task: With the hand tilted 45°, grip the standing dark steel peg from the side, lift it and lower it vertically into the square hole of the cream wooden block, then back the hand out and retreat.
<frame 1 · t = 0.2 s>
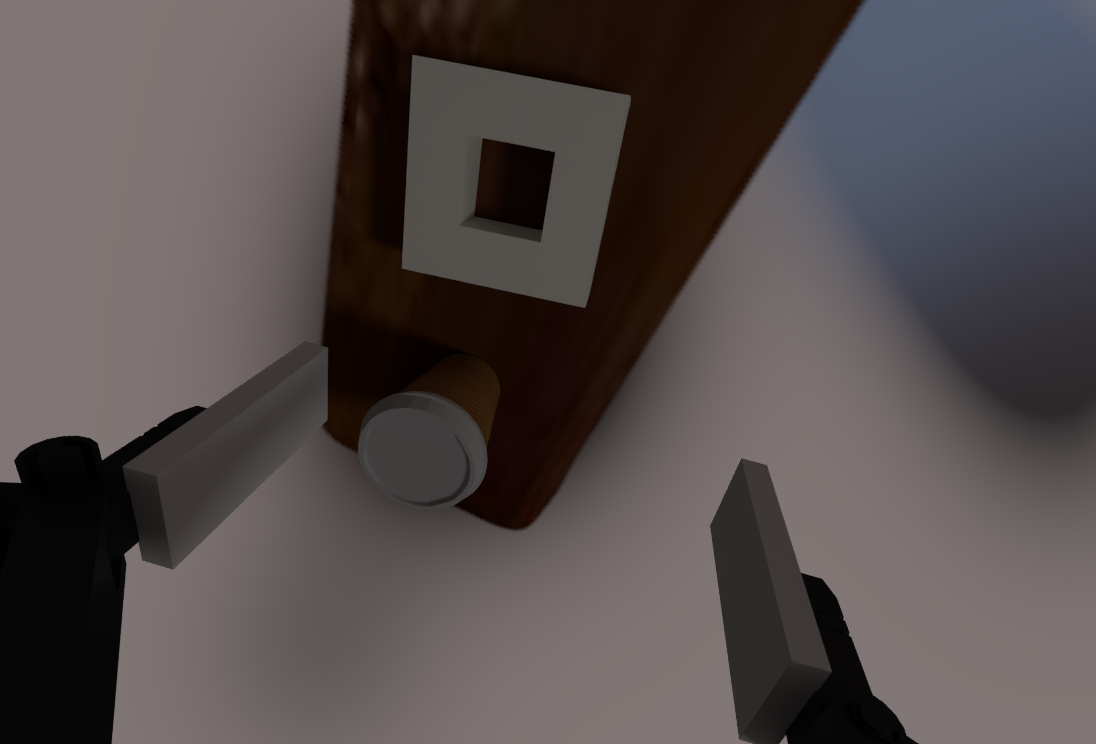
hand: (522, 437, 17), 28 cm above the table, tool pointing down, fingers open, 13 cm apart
hole block: (517, 184, 40), on the table
disposable coffee cup: (466, 384, 49), on the table
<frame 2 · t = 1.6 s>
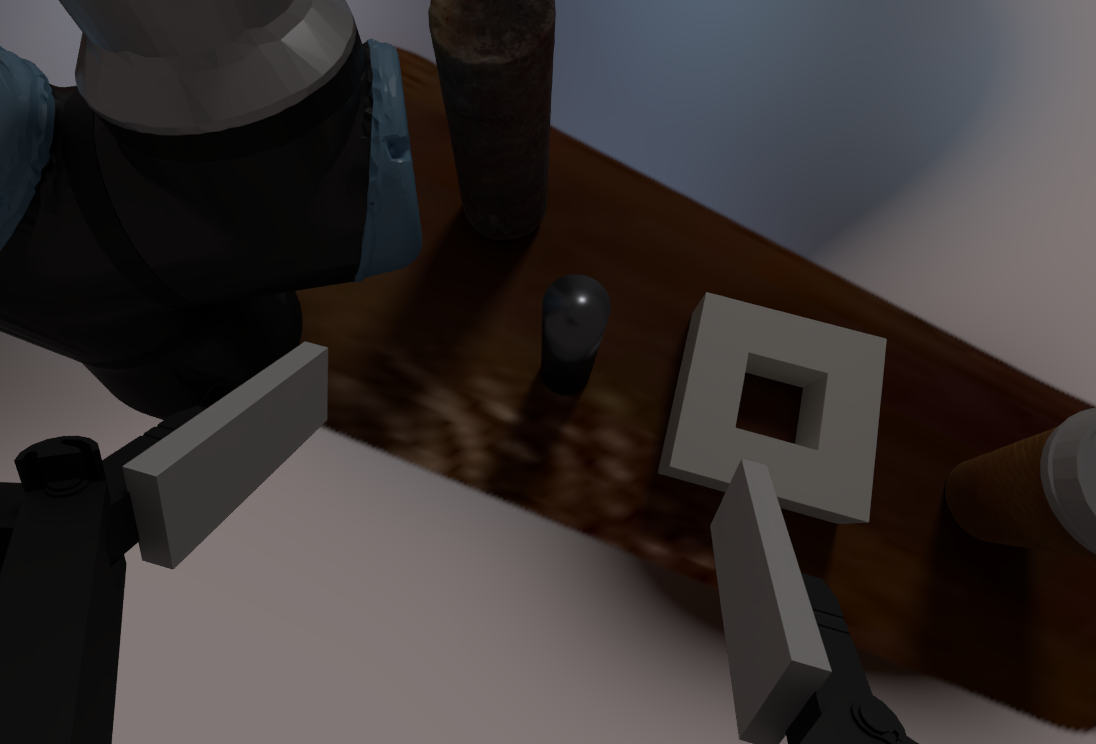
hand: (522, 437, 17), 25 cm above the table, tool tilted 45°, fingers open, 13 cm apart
hole block: (760, 412, 43), on the table
disposable coffee cup: (983, 500, 42), on the table
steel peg: (565, 371, 44), on the table
candle: (506, 213, 49), on the table
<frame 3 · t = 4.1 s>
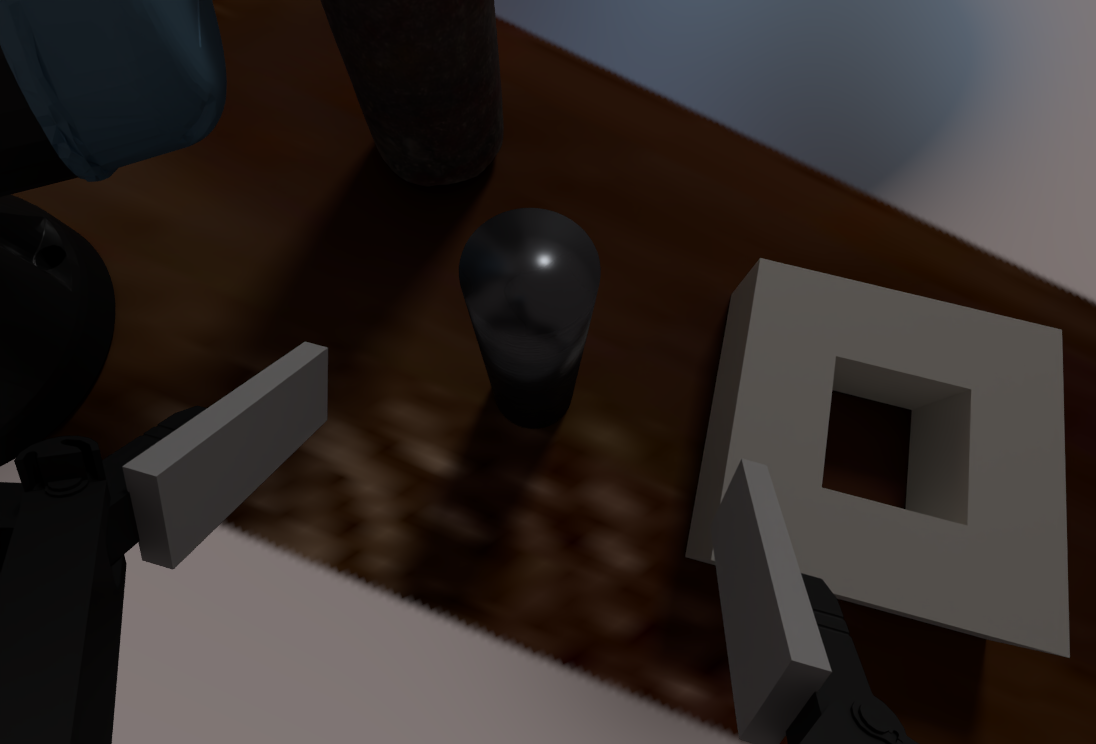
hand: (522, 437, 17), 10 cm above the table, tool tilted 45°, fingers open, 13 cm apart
hole block: (847, 451, 27), on the table
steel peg: (533, 390, 28), on the table
candle: (444, 149, 32), on the table
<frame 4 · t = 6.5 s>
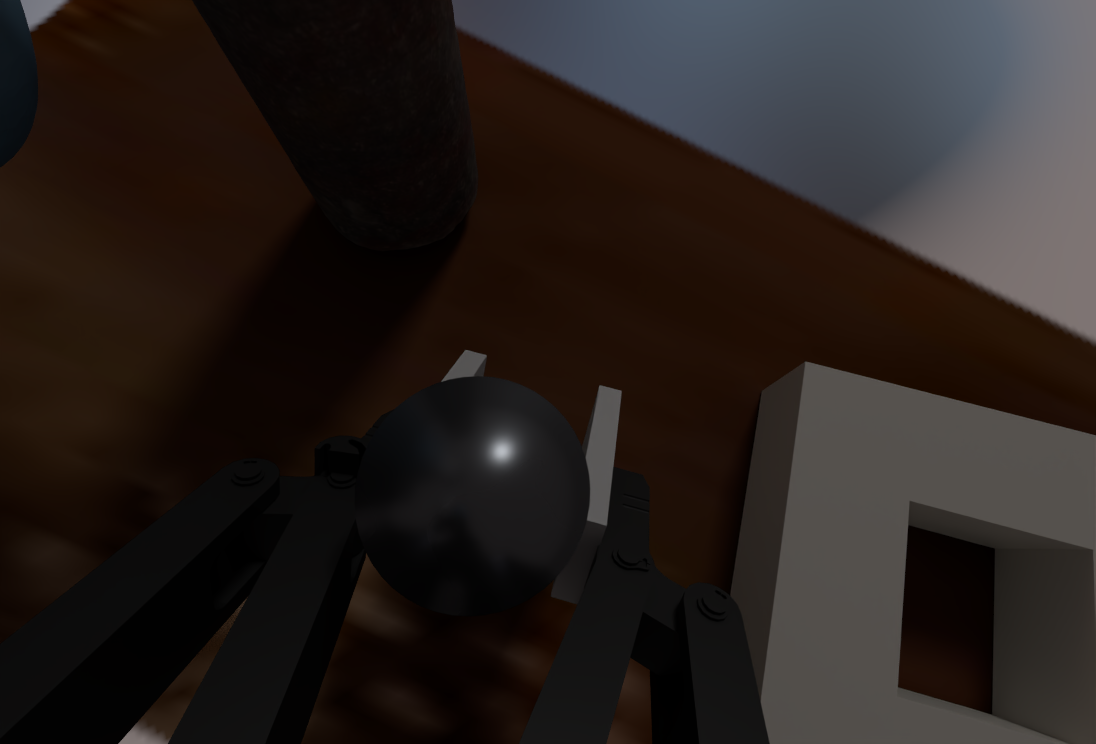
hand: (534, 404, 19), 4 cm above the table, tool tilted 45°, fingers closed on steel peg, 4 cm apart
hole block: (914, 606, 21), on the table
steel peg: (509, 519, 22), on the table, touching gripper
candle: (407, 200, 26), on the table
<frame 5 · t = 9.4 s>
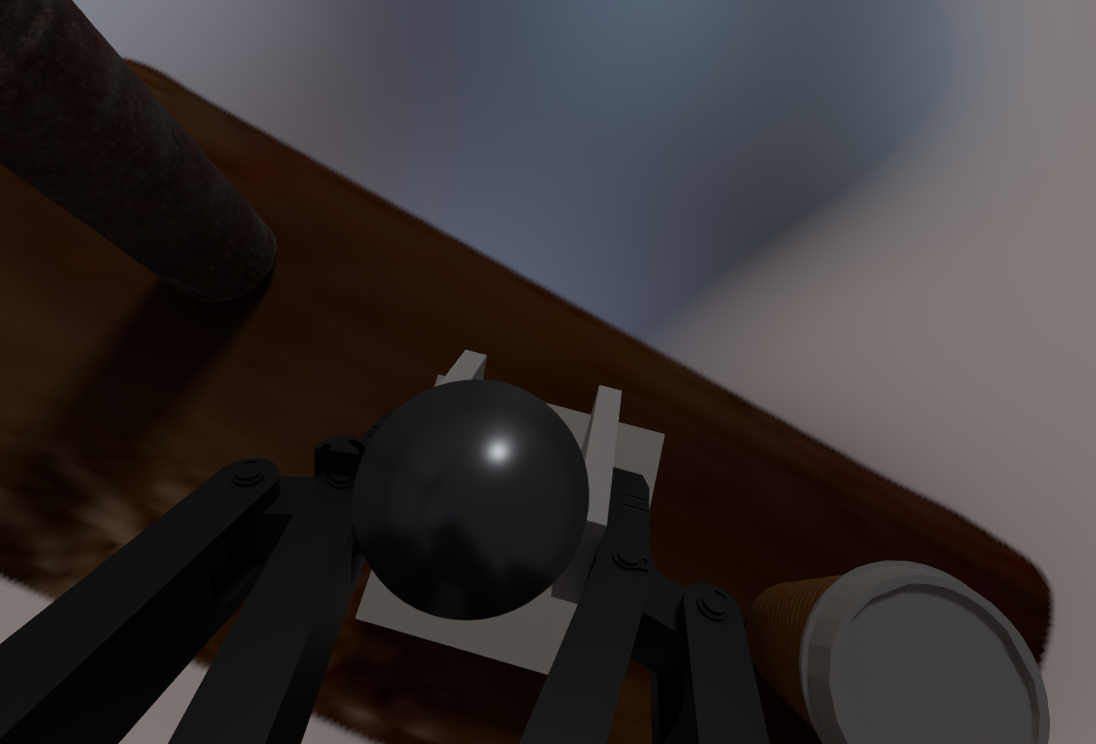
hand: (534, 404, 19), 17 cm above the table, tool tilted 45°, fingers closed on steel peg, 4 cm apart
hole block: (520, 523, 34), on the table
disposable coffee cup: (795, 637, 33), on the table
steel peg: (509, 521, 22), point 13 cm above the table, touching gripper
candle: (233, 265, 39), on the table
when the fingers open (6 cm above the table, at t = 12.2 s): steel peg drops 2 cm, resting in hole block.
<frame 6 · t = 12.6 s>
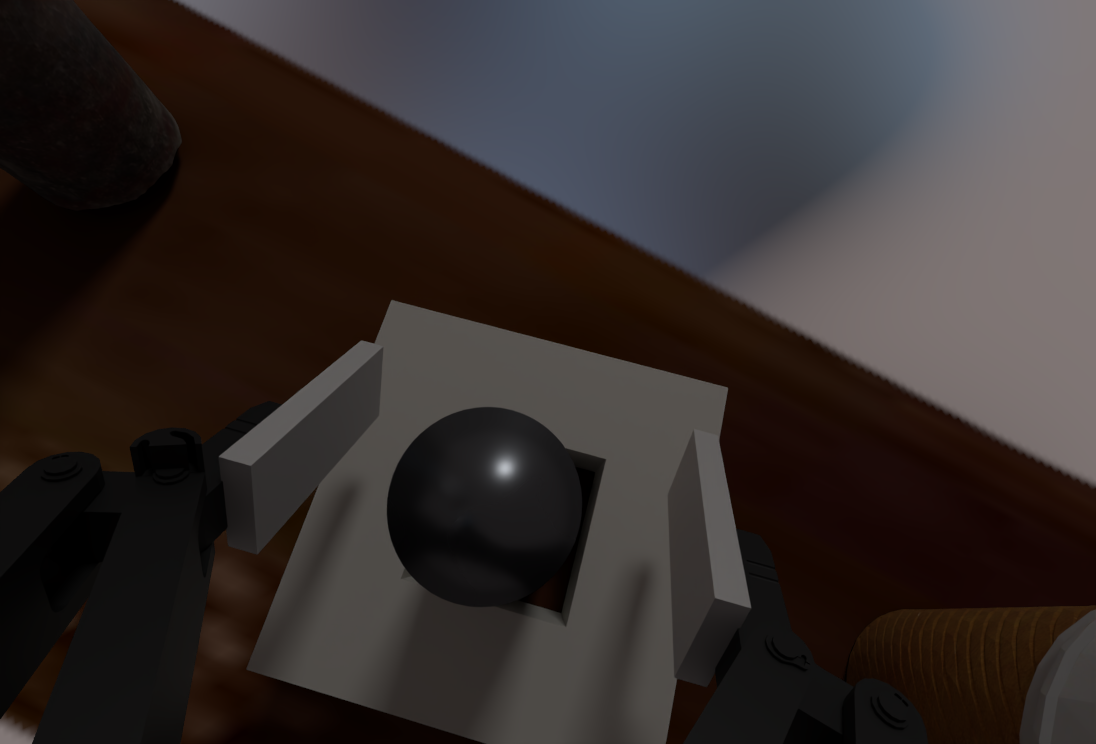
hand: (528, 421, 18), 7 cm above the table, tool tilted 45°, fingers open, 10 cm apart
hole block: (512, 521, 24), on the table
disposable coffee cup: (920, 692, 22), on the table
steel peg: (511, 523, 24), resting in hole block
candle: (123, 167, 29), on the table
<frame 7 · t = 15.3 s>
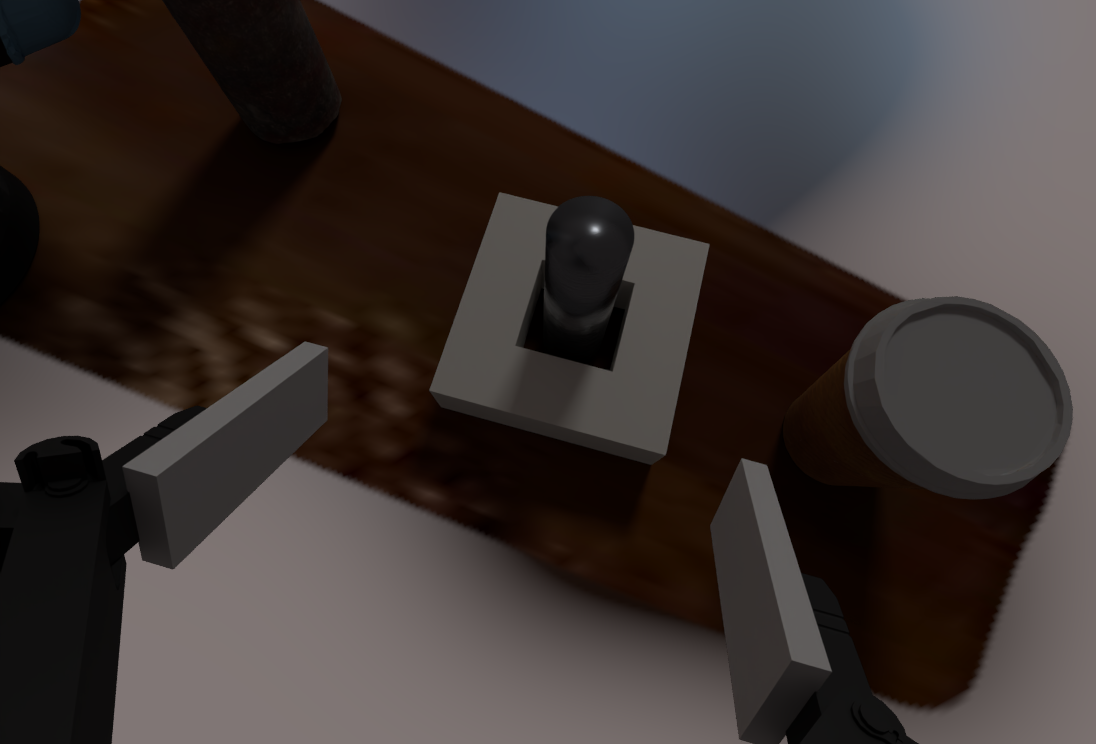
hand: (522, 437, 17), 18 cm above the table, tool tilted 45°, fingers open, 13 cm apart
hole block: (572, 337, 37), on the table
disposable coffee cup: (829, 437, 35), on the table
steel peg: (572, 338, 37), resting in hole block
candle: (299, 118, 42), on the table
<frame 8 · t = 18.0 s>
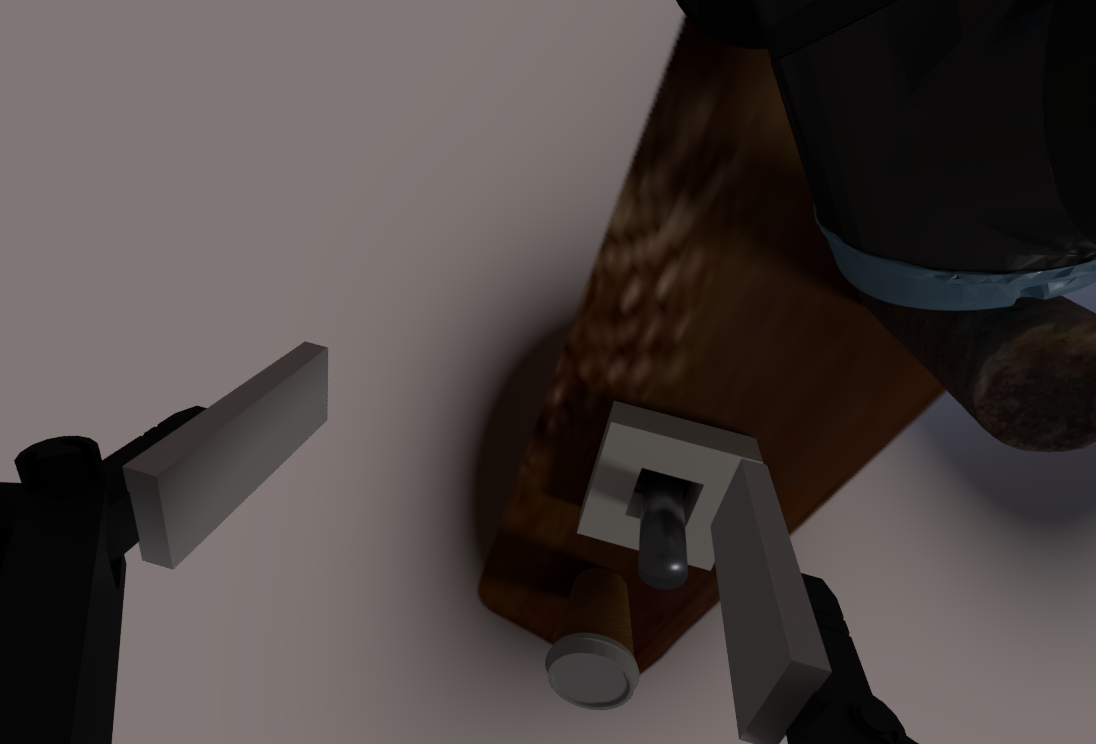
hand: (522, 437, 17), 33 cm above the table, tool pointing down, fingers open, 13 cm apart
hole block: (662, 475, 56), on the table
disposable coffee cup: (600, 585, 64), on the table
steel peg: (661, 474, 56), resting in hole block
candle: (900, 272, 44), on the table
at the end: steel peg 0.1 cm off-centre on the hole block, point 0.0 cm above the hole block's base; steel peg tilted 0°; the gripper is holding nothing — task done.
